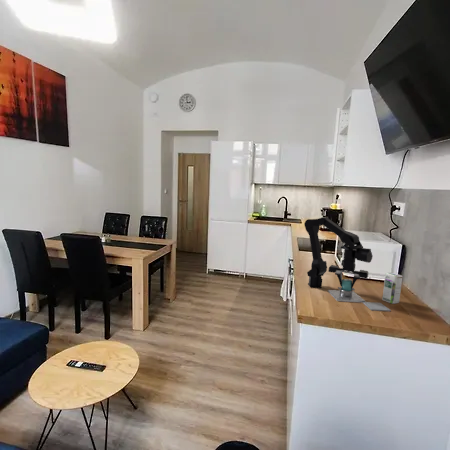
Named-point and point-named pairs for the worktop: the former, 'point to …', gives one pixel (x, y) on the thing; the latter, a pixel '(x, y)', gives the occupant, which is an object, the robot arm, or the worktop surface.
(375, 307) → the coaster
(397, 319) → the worktop surface
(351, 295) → the grey square plate
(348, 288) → the teal cylinder
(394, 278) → the syrup box
